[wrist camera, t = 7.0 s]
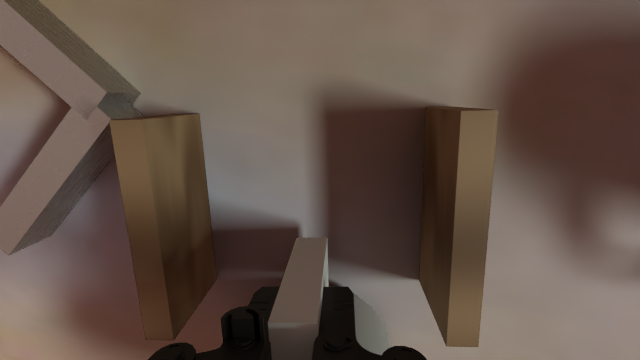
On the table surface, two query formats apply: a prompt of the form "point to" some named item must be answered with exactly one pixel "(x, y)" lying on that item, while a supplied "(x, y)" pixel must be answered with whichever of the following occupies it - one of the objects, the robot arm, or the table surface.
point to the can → (369, 328)
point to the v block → (74, 130)
